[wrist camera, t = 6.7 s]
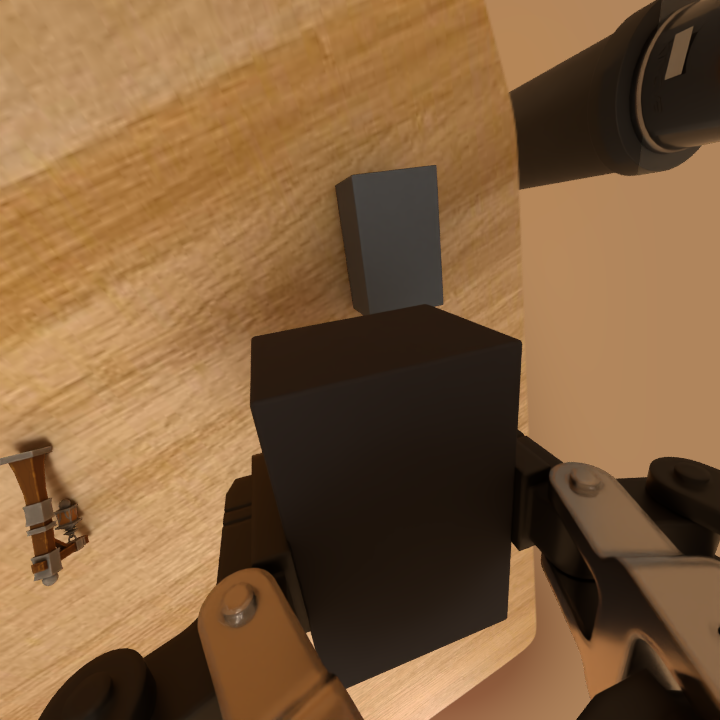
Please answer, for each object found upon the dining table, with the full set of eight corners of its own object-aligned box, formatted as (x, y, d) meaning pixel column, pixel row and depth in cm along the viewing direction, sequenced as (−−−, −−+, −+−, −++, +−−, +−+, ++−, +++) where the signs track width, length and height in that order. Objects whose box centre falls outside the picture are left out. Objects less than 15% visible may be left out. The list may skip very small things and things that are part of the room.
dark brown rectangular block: (426, 303, 10) (524, 340, 6) (437, 513, 13) (508, 620, 9) (250, 336, 9) (249, 403, 5) (305, 557, 12) (328, 698, 8)
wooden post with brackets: (72, 560, 24) (23, 599, 20) (47, 447, 24) (-7, 460, 20) (101, 551, 24) (59, 586, 20) (76, 439, 25) (29, 450, 20)
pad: (407, 175, 23) (436, 164, 19) (417, 295, 26) (443, 304, 22) (334, 185, 22) (351, 175, 18) (353, 308, 25) (370, 320, 21)
